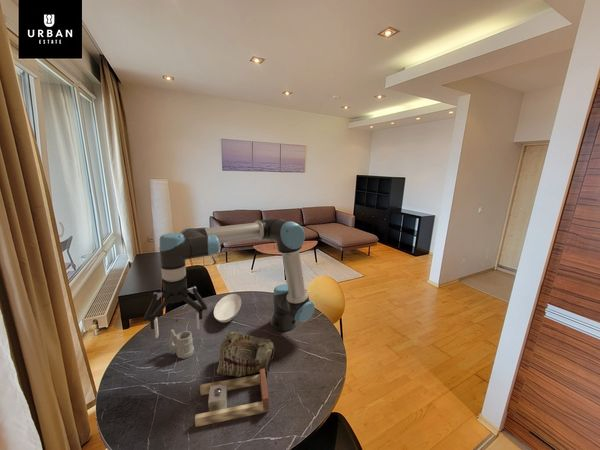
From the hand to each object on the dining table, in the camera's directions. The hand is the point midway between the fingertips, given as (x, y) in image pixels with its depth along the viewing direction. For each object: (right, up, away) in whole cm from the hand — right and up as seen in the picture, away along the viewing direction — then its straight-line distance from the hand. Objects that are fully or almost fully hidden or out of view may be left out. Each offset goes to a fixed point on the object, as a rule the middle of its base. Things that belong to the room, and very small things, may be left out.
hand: (178, 331), depth 90 cm
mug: (-12, -22, +27) cm, 37 cm away
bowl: (+1, -16, +60) cm, 62 cm away
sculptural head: (+20, -25, +20) cm, 38 cm away
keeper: (+14, -28, +2) cm, 32 cm away
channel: (+20, -28, +3) cm, 34 cm away
